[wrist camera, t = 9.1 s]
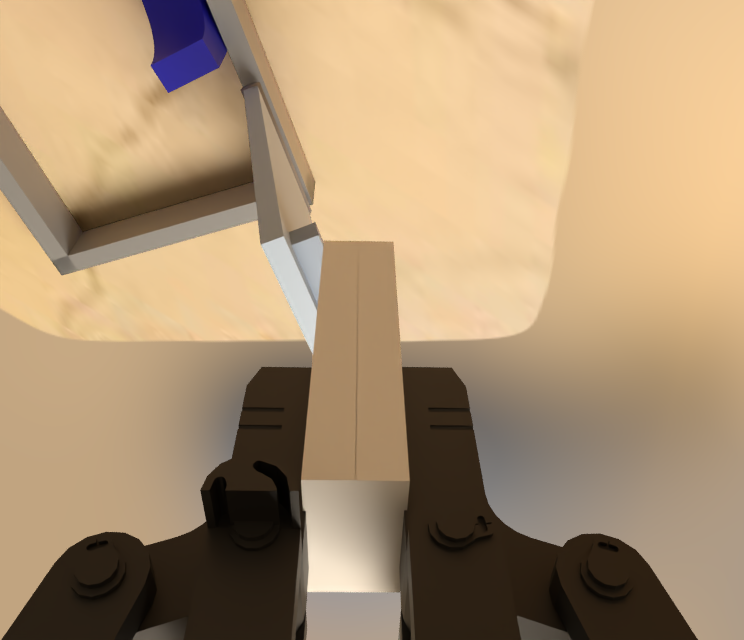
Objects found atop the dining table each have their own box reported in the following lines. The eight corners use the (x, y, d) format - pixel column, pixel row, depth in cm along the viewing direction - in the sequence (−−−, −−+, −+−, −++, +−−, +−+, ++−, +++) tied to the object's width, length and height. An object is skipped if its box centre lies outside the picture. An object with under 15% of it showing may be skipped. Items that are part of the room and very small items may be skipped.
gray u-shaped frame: (-138, -67, 35) (-174, -56, 32) (170, -190, 32) (156, -188, 29) (76, 250, 46) (61, 275, 44) (315, 182, 44) (312, 204, 41)
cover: (256, 246, 22) (312, 225, 22) (240, 87, 36) (274, 74, 36) (335, 410, 27) (381, 394, 27) (293, 212, 41) (323, 201, 41)
